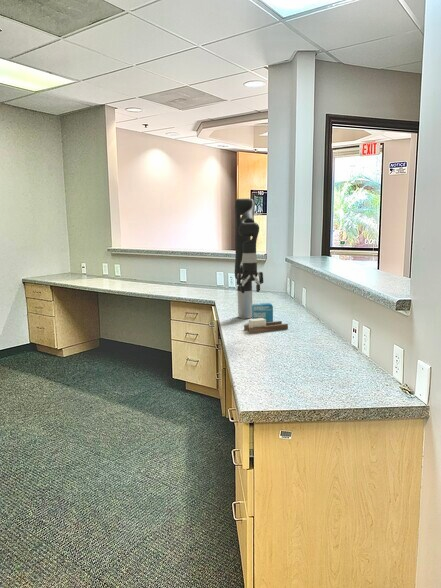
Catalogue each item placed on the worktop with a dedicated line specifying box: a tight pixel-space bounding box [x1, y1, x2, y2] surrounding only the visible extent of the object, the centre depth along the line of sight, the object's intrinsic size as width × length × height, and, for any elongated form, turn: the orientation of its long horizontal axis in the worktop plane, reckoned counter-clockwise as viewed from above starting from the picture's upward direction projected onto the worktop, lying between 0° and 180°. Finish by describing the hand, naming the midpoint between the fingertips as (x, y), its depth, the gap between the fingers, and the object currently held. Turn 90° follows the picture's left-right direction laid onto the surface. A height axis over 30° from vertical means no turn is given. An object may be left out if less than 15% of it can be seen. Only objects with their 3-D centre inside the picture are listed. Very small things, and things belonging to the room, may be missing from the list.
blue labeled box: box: [251, 302, 274, 323], centre depth 248 cm, size 12×4×12 cm, turn 89°
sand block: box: [248, 318, 266, 328], centre depth 228 cm, size 5×8×6 cm, turn 108°
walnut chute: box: [243, 320, 289, 335], centre depth 230 cm, size 10×22×4 cm, turn 108°
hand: (250, 292), depth 222 cm, fingers open, 8 cm apart
